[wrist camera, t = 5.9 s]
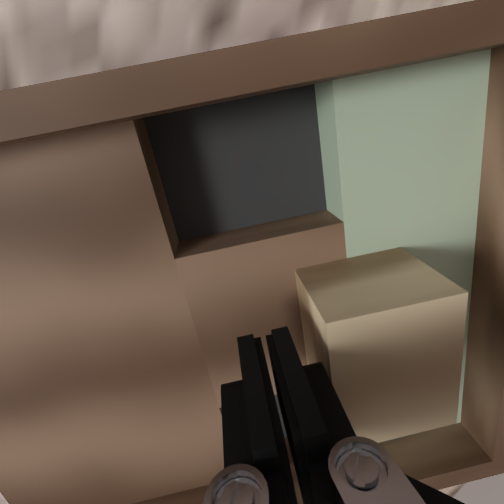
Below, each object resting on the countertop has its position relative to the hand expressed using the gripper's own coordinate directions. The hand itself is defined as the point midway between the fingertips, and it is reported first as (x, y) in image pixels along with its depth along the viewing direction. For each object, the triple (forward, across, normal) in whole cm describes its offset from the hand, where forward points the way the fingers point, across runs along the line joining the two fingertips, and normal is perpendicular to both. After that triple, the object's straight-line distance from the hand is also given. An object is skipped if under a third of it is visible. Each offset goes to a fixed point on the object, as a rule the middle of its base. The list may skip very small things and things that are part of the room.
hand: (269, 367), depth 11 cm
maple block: (+2, -4, 0) cm, 4 cm away
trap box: (+4, +1, 0) cm, 4 cm away
